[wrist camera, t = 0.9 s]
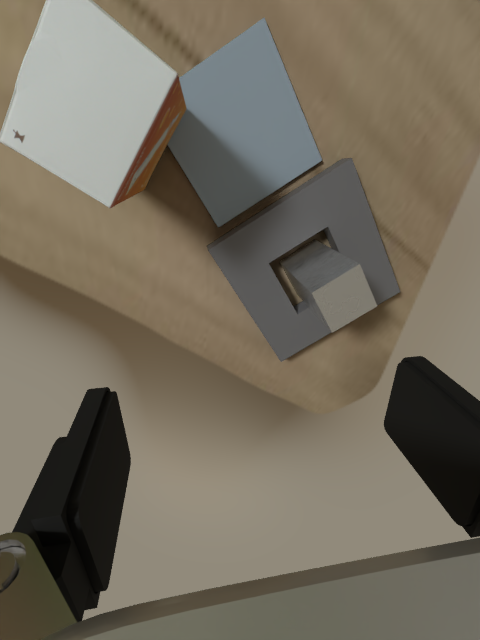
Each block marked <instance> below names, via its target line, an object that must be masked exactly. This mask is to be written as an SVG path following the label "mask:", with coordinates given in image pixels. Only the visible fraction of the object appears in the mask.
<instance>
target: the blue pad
mask: <svg viewBox="0 0 480 640" xmlns="http://www.w3.org/2000/svg"><path fill="white" fill-rule="evenodd" d="M179 81H180V84H181V88H182V92H183V96H184V100H185V104H186V108H187V109H186V111H185V113H184V115H183V116H182V118H181V120H180V122H179V124H178V126H177V127H176V129H175V131H174V133H173V135H172V137H171V139H170V140H169V142H168V144H167V145H168V146H169V148H170V150H171V151H172V153H173V155H174V156H175V158H176V159H177V161H178V163H179V164H180V166H181V168H182V169H183V171H184V172H185V174H186V176H187V177H188V179H189V181H190V182H191V184H192V186H193V187H194V189H195V190H196V192H197V194H198V195H199V197H200V199H201V200H202V202H203V203H204V205H205V207H206V208H207V210H208V212H209V213H210V215H211V217H212V218H213V220H214V221H215V223H216V225H217V226H218V228H219V227H220V226H222V225H223V224H225V223H226V222H228V221H229V220H231V219H233V218H234V217H236V216H237V215H239V214H240V213H242V212H243V211H245V210H246V209H248V208H250V207H251V206H253V205H254V204H256V203H257V202H259V201H260V200H262V199H263V198H265V197H266V196H268V195H270V194H271V193H273V192H274V191H276V190H277V189H279V188H280V187H282V186H283V185H285V184H287V183H288V182H290V181H291V180H293V179H294V178H296V177H297V176H299V175H300V174H302V173H303V172H305V171H307V170H308V169H310V168H311V167H313V166H314V165H316V164H317V163H319V162H320V161H322V159H321V156H320V154H319V151H318V149H317V146H316V144H315V141H314V139H313V136H312V134H311V131H310V129H309V127H308V124H307V122H306V119H305V117H304V114H303V112H302V109H301V107H300V104H299V102H298V100H297V97H296V95H295V92H294V90H293V87H292V85H291V82H290V80H289V77H288V75H287V72H286V70H285V68H284V65H283V63H282V60H281V58H280V55H279V53H278V50H277V48H276V45H275V43H274V40H273V38H272V36H271V33H270V31H269V28H268V26H267V23H266V21H265V18H263V19H262V20H260V21H259V22H257V23H256V24H255V25H253V26H252V27H250V28H249V29H247V30H246V31H245V32H243V33H242V34H240V35H239V36H238V37H236V38H235V39H233V40H232V41H231V42H229V43H228V44H226V45H225V46H224V47H222V48H221V49H219V50H218V51H217V52H215V53H214V54H212V55H211V56H210V57H208V58H207V59H205V60H204V61H203V62H201V63H200V64H198V65H197V66H195V67H194V68H193V69H191V70H190V71H188V72H187V73H186V74H184V75H183V76H181V77H180V78H179Z"/></svg>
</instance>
